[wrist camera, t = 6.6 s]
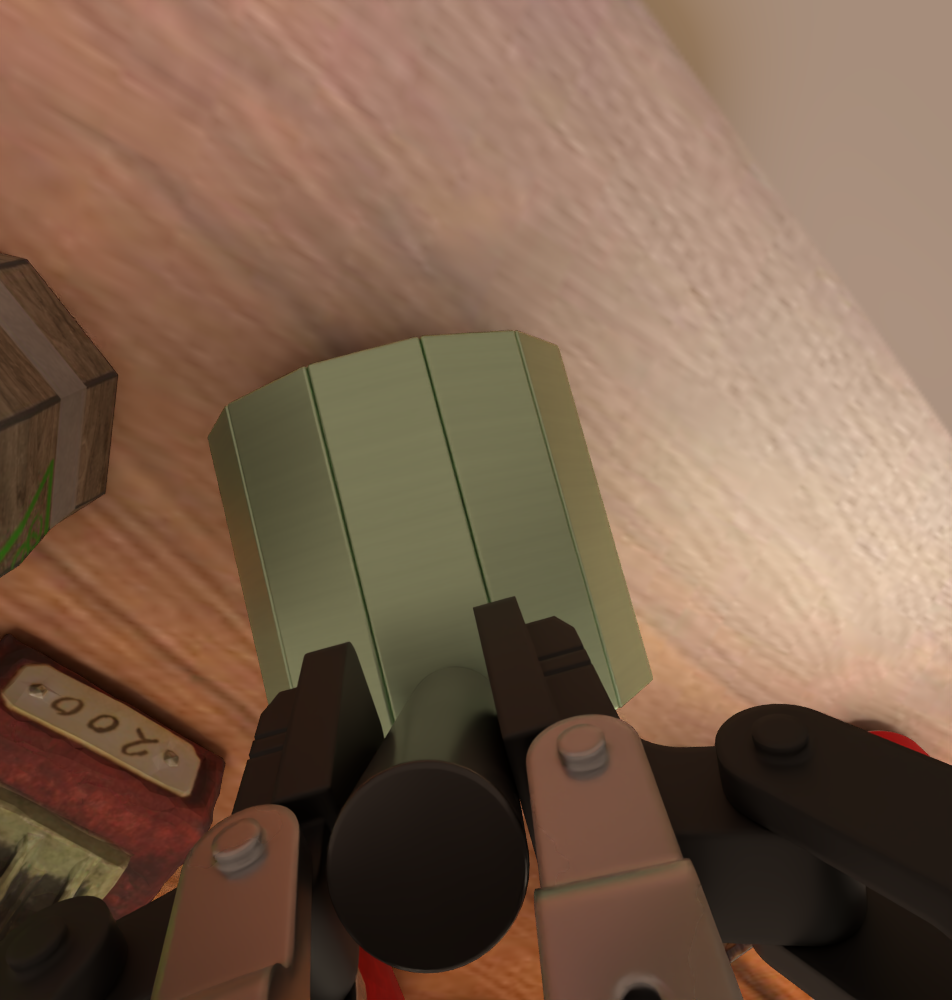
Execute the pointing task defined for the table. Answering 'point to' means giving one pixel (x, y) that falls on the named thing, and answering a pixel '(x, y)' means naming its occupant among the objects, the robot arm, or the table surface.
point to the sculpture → (90, 792)
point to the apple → (378, 978)
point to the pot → (423, 601)
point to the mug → (47, 413)
